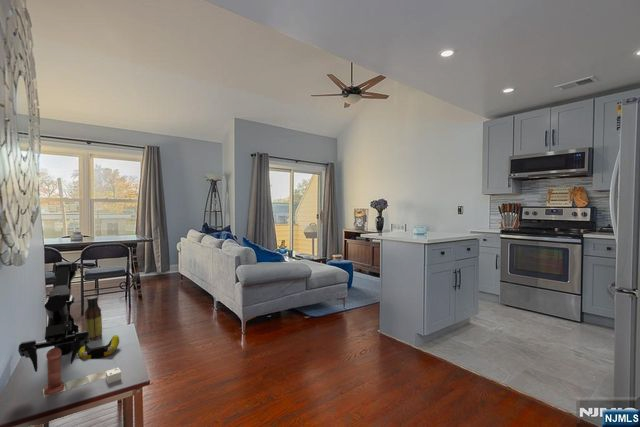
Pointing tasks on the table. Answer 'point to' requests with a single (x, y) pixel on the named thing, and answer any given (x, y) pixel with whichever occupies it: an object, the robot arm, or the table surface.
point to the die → (113, 375)
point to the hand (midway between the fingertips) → (54, 367)
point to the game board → (82, 381)
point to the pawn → (54, 372)
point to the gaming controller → (99, 349)
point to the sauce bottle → (93, 319)
